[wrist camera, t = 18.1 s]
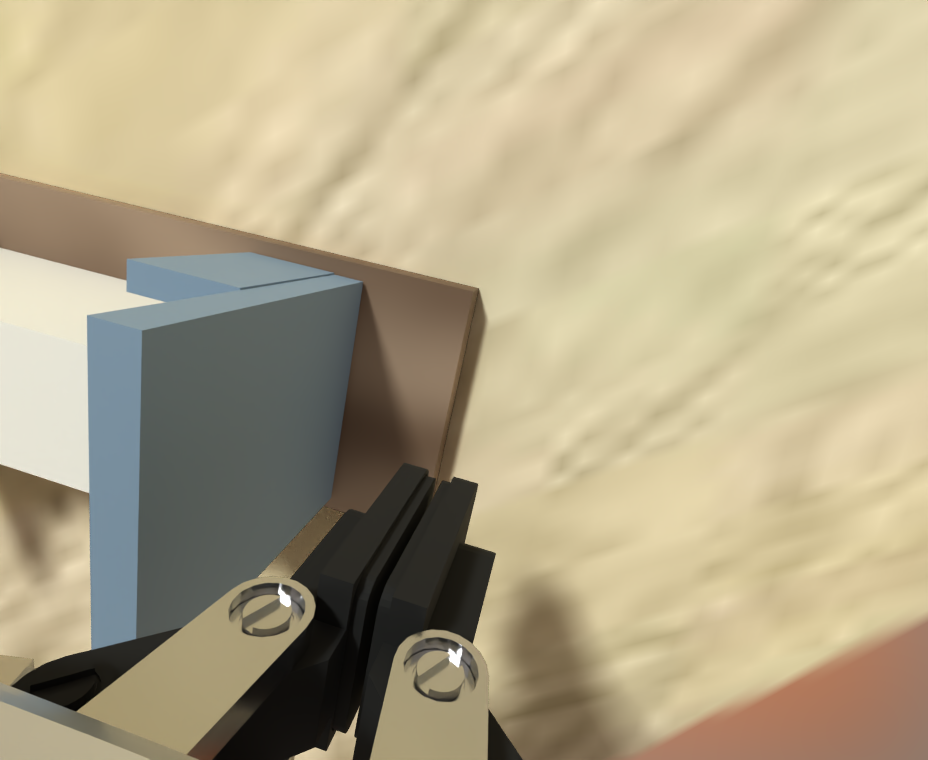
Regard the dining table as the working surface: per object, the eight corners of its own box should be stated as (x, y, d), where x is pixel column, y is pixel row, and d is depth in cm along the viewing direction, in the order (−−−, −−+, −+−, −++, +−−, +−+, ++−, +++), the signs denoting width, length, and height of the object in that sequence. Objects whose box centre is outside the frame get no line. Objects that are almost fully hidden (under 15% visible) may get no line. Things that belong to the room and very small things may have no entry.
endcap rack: (428, 521, 20) (293, 784, 10) (-71, 369, 23) (-524, 463, 13) (478, 288, 17) (359, 355, 8) (-95, 150, 20) (-686, 75, 11)
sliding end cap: (330, 498, 19) (134, 710, 11) (232, 468, 20) (-30, 647, 11) (363, 279, 17) (142, 327, 8) (250, 252, 17) (-70, 269, 9)
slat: (295, 434, 19) (173, 520, 13) (-70, 328, 21) (-310, 363, 15) (307, 328, 18) (179, 372, 12) (-82, 226, 20) (-346, 223, 14)
